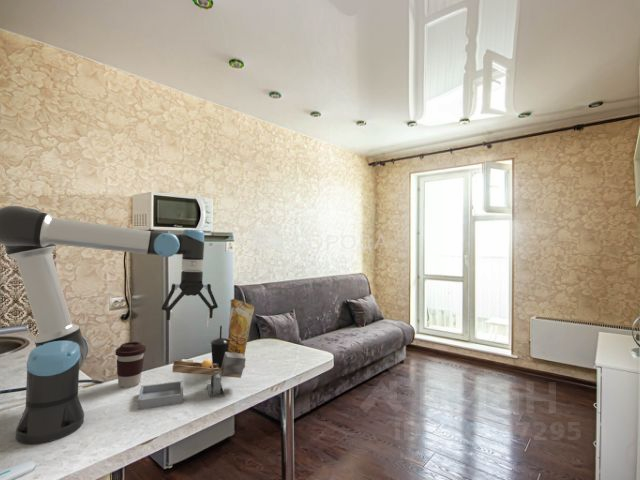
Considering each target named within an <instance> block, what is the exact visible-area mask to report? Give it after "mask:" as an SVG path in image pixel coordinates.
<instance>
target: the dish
mask: <svg viewBox="0 0 640 480" xmlns="http://www.w3.org/2000/svg"><path fill="white" fill-rule="evenodd" d="M182 403H184V382H183V380H177V381H171V382H169V381H168V382H162V383H152V384H146V385H140V390H139V393H138V399H137V406H136V407H137V410H141V409H143V410H144V409H149V408H156V407H162V406H169V405H176V404H182Z"/></svg>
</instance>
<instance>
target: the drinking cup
mask: <svg viewBox="0 0 640 480" xmlns="http://www.w3.org/2000/svg"><path fill="white" fill-rule="evenodd" d="M222 330H223V327H222V325H220V326H219V337H217V338H215V339H212V340H211V341H210V345H211V362H212V363H219V368H221V366H222V362H223V358H224V354H225V352H228V347H229V343H230V340H228V338H225V337H222V334H223V333H222V332H223V331H222Z"/></svg>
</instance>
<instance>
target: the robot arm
mask: <svg viewBox="0 0 640 480" xmlns="http://www.w3.org/2000/svg"><path fill="white" fill-rule="evenodd" d="M0 244H1V245H3V246H4V248H5V252H6V255H7V257H9V258H11V259H13V260H15V261H16V263H17V267H18V271H19V274H20V277H21V279H22V284H23V287H24V290H25V293H26V297H27V300H28V303H29V307H30V309H31V312H32V316H33V319H34V323H35V326H36V329H37V332H38V334H37V337H36V338H35V339H34V344H35V347H34V348H33V349H32V350H30V352H29V354H28V357H27V361H26V386H25V387H26V391H25V393H26V394H25V407H24V410H23V412H22V415H21V417H20V419H19V422H18V424H17V426H16V428H15V441H17V442H18V443H19V444H23V445H40V444H44V443H48V442H53V441H56V440H59V439H61V438H64V437H66V436H69V435H70V434H72V433H75V432H76V431H77V430H78V429H80V428H81V427H82V425H84V423H85V411H84V410H83V406H82V404H81V401H80V398H79V379H80V376H79V375H80V370H81V368H82V367H83V364H84V363H85V361H86V359H87V357H88V354H89V343H88V341H87V340H86V338H85V337H84V336H83V334H82V332H81V328H80V326H79V325H77V324H74V323H73V321H72V318H71V315H70V310H69V308H68V304H67V301H66V298H65V294H64V292H63V287H62V283H61V280H60V278H59V274H58V270H57V267H56V264H55V261H54V257H53V255H52V254H53V252H54V250H55V248H56V246H58V245H59V246H66V247H76V248H87V249H94V250H95V249H96V250H105V251H114V252H123V253H124V252H125V253H134V254H142V255H151V256H159V257H164V258H170V257H173V256H174V255H179V256H180V255H181V270H182V271H181V275H180V283H179V284H178V283H177V284H176V283H171V289H170V291H169V293H168V294H167V297H166V299H165V301H164V302H163V304H162V306H161V310H162V311H165V312H166V317H165V318H166V320H167V321H169V327H168V328H169V330H170V331H171V330H172V329H173V308H174V307H175V306H176V305H177V304H178V303H179V301H180V300H181V299H182V298H183V297H184V296H186V297H190V296H192V297H193V296H197V295H198V296H199V298H200V299H201V300H202V302H203V303H204V304H205V306H207V309H206V322H205V323H206V324H205V325H206V328H209V327H210V319H213V314H214V313H213V311H214V310H215V309H217V308H219V305H218V303H217V301H216V299H215V297H214V294H213V291H212V285H211V283H209V282H208V283H203V275H204V274H203V269H204V256H205V255H204V253H205V233H204V231H203V230H200V229H183V232H182V233H181V234H175V233H171V232H159V231H151V230H147V229H145V230H144V229H138V228H130V227H123V226H116V225H109V224H103V223H102V224H101V223H95V222H93V223H92V222H87V221H78V220H74V219H73V220H71V219H64V218H58V217H54V215H52V214H51V213H46V212H42V211H40V210H37V209H34V208H30V207H24V206H20V205H10V206H9V205H8V206H3V207H1V208H0ZM203 288H204V289H205V290H206V291H207V293H208V295H209V297H210V300H211V303H212V304H211V303H210V302H209V300H208V299H207V298H206V297H205V295H204V294H203V293H202V289H203ZM178 289H180V293H179V294H178V295H177V297H176V298H175V299H173V301H172V302H171V303H170V304H169V302H170V300H171V299H172V297H173V295H174V293H175V291H177V290H178ZM168 304H169V305H168Z"/></svg>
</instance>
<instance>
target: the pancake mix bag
mask: <svg viewBox="0 0 640 480" xmlns="http://www.w3.org/2000/svg"><path fill="white" fill-rule="evenodd" d="M255 309H256V308H255V306H254V305H253V304H252V303H248V302H245V301H243V300H239V299H235V298H232V299H230V307H229V322H228V338H227V339H228V340H230V343H229V347H228V352H230V353H239V354H243V355H244V357H245V358H246V356H245V355H246V349H247V345H248V344H247V343H248V338H249V335H250V332H251V331H250V330H251V326H252V321H253V317H254V314H255ZM245 368H246V363H245V364H244V368H243V370H244V369H245Z"/></svg>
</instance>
